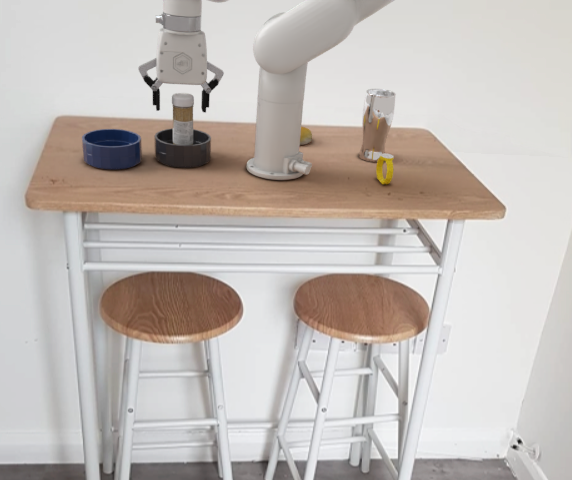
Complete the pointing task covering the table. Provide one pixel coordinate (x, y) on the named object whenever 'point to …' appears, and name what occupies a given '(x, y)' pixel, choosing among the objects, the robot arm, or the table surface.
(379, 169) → the watch
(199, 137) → the charcoal bowl
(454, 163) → the table surface
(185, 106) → the sprinkles bottle
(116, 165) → the navy bowl
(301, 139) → the bread roll
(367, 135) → the beer glass
